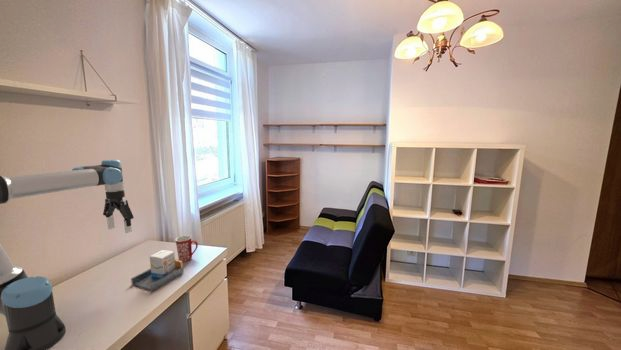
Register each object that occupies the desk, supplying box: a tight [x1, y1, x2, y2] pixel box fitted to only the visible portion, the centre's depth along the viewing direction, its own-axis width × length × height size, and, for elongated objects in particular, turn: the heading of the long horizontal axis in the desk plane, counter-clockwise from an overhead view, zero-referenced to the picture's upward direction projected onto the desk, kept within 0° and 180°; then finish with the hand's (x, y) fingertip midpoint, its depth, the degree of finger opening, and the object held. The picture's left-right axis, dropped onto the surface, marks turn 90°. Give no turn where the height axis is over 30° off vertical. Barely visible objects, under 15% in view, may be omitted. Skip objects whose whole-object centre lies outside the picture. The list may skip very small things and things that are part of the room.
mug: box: [174, 234, 199, 263], centre depth 154 cm, size 13×9×14 cm
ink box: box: [149, 249, 176, 278], centre depth 135 cm, size 9×8×12 cm
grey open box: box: [130, 258, 184, 292], centre depth 133 cm, size 18×15×7 cm
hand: (119, 230), depth 130 cm, fingers open, 13 cm apart
